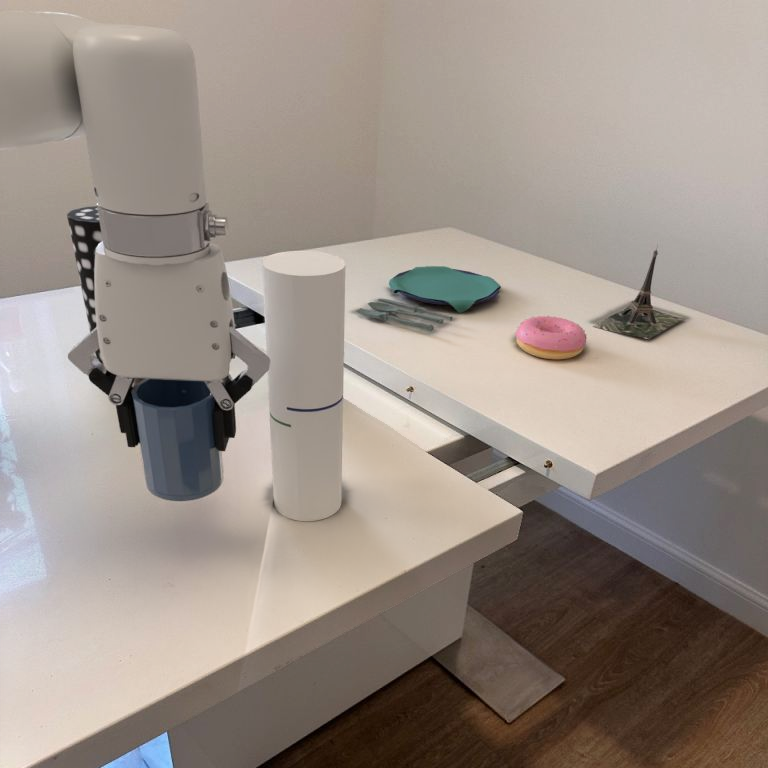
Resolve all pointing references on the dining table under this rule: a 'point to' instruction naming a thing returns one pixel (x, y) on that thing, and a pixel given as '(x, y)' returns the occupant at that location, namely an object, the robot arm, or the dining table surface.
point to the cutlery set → (434, 293)
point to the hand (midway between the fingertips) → (180, 439)
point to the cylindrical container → (305, 380)
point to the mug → (177, 438)
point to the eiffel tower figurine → (640, 314)
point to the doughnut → (551, 337)
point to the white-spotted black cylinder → (86, 256)
